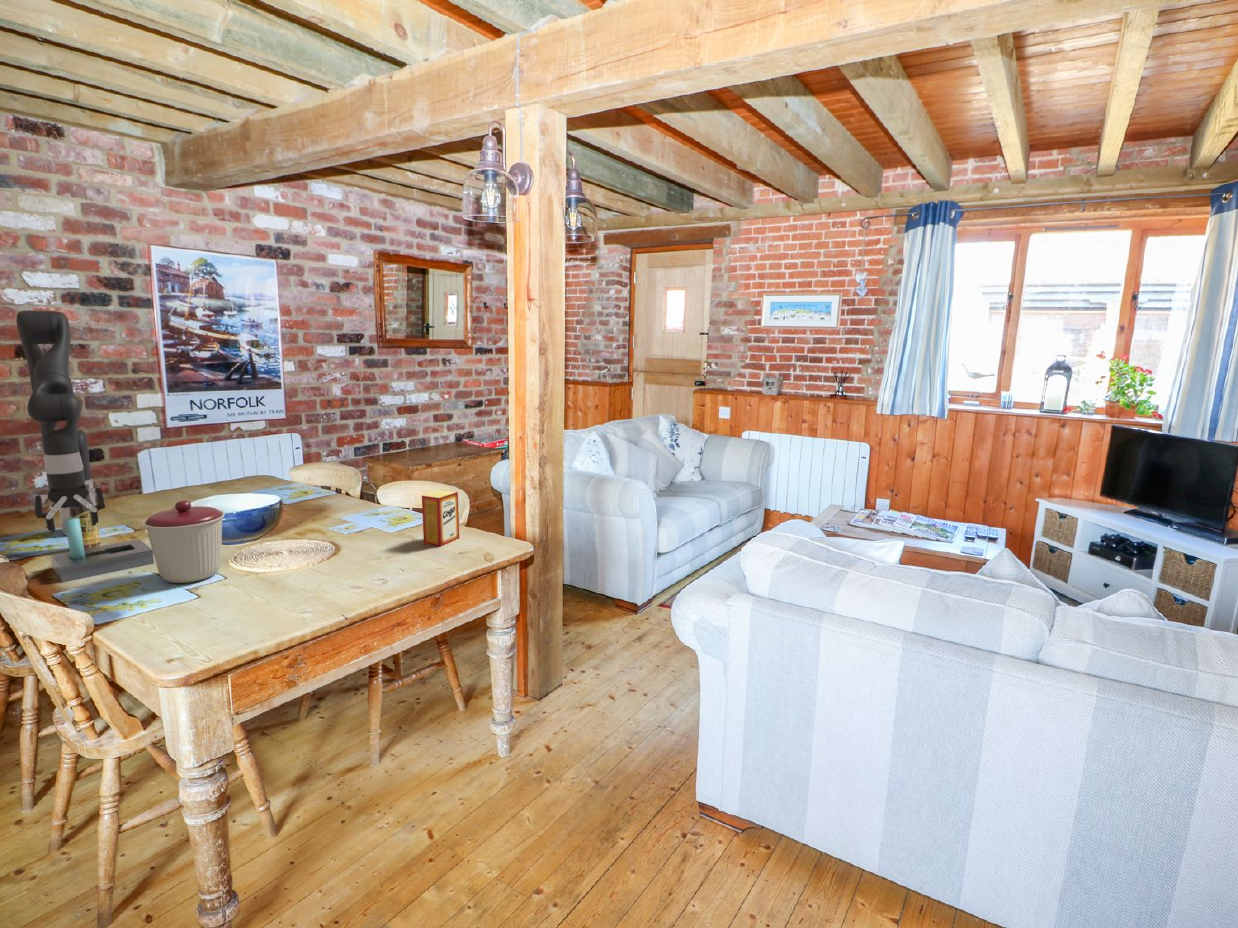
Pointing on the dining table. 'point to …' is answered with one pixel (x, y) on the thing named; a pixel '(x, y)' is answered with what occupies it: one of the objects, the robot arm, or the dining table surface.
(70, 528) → the peg
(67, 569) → the grey slotted block
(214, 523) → the canister
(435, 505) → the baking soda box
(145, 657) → the dining table surface
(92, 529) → the sauce bottle
